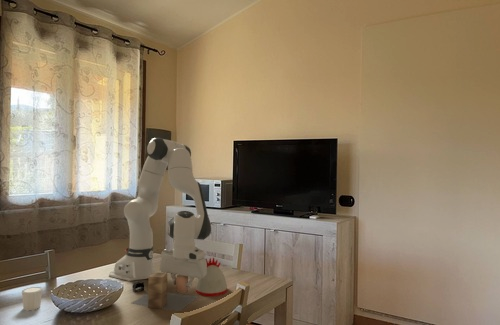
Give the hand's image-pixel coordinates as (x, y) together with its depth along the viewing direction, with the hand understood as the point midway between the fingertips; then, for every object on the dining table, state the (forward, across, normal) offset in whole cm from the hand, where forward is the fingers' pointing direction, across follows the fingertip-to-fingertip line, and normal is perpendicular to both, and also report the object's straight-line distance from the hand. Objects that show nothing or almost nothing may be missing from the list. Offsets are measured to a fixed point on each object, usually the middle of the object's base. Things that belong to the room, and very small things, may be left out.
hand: (182, 285), depth 149 cm
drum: (+2, 0, 0) cm, 2 cm away
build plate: (+8, -23, +4) cm, 25 cm away
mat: (+7, -7, -1) cm, 10 cm away
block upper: (+1, -7, -7) cm, 10 cm away
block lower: (+7, -6, -7) cm, 12 cm away
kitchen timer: (+7, +6, +16) cm, 18 cm away
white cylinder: (+8, -50, -27) cm, 57 cm away
